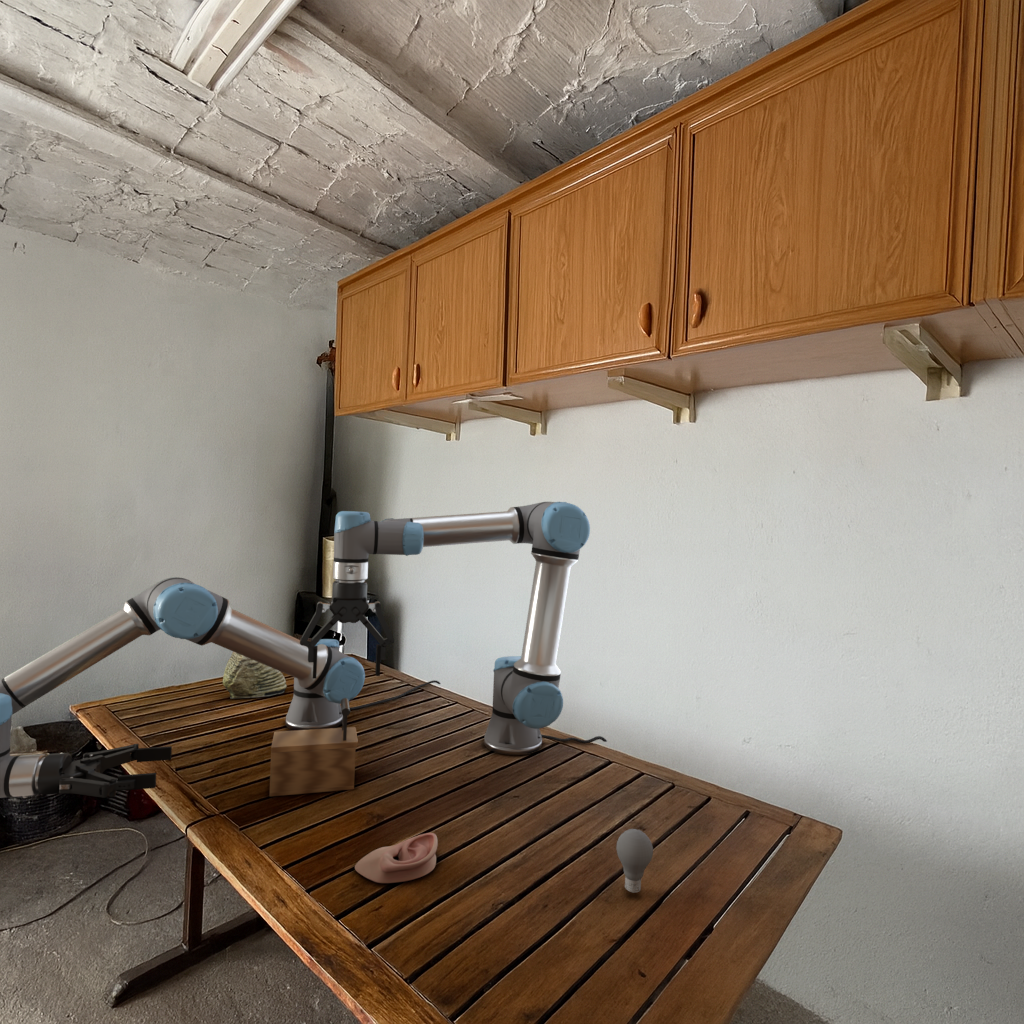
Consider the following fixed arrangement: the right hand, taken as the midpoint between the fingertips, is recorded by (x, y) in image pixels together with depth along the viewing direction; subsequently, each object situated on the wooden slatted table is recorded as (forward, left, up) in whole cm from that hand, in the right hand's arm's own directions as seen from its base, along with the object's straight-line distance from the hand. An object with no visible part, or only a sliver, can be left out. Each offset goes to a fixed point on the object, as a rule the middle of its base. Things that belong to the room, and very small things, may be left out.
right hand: (346, 675), depth 141 cm
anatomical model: (+1, +36, -24) cm, 43 cm away
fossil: (+6, -71, -24) cm, 75 cm away
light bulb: (-30, +61, -24) cm, 72 cm away
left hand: (+35, -9, -17) cm, 40 cm away
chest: (+6, -2, -24) cm, 25 cm away
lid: (+6, -2, -14) cm, 16 cm away
